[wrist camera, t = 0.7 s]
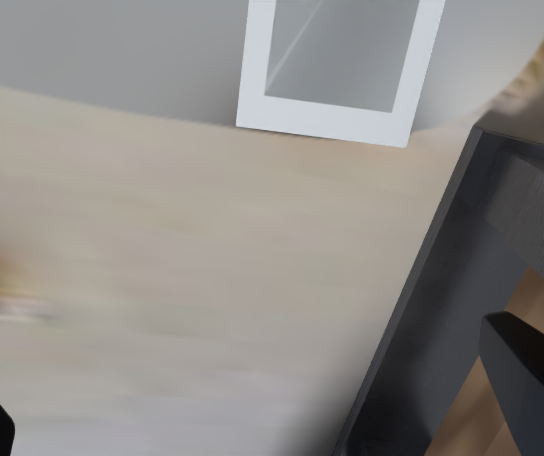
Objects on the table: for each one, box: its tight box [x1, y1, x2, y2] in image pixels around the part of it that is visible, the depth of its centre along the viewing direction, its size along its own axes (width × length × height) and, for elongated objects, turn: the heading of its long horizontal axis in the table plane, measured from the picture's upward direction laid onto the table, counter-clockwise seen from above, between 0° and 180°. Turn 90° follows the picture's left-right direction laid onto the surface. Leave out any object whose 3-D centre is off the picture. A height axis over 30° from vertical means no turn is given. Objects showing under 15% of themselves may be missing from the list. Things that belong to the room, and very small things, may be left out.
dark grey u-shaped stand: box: [332, 127, 544, 456], centre depth 22 cm, size 23×7×8 cm, turn 166°
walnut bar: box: [424, 265, 544, 456], centre depth 20 cm, size 24×3×3 cm, turn 166°
